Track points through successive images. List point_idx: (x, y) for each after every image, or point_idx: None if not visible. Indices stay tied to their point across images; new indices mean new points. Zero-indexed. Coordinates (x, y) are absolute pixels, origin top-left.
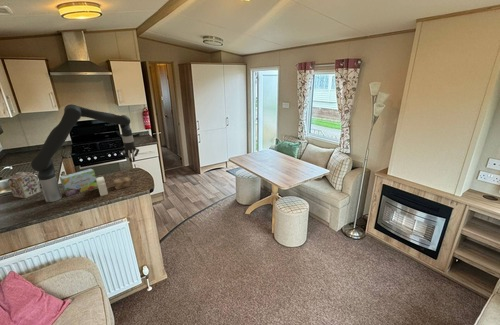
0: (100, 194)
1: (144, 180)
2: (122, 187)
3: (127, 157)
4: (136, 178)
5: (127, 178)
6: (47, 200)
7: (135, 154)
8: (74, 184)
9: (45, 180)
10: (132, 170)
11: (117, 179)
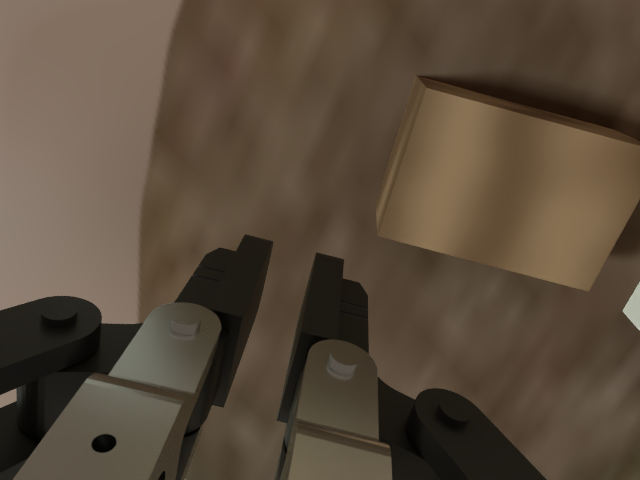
0: None
1: (224, 112)
2: (540, 110)
3: (448, 399)
4: (274, 251)
5: (433, 192)
6: None
7: (33, 366)
8: None
9: None
10: (217, 467)
11: (542, 269)
